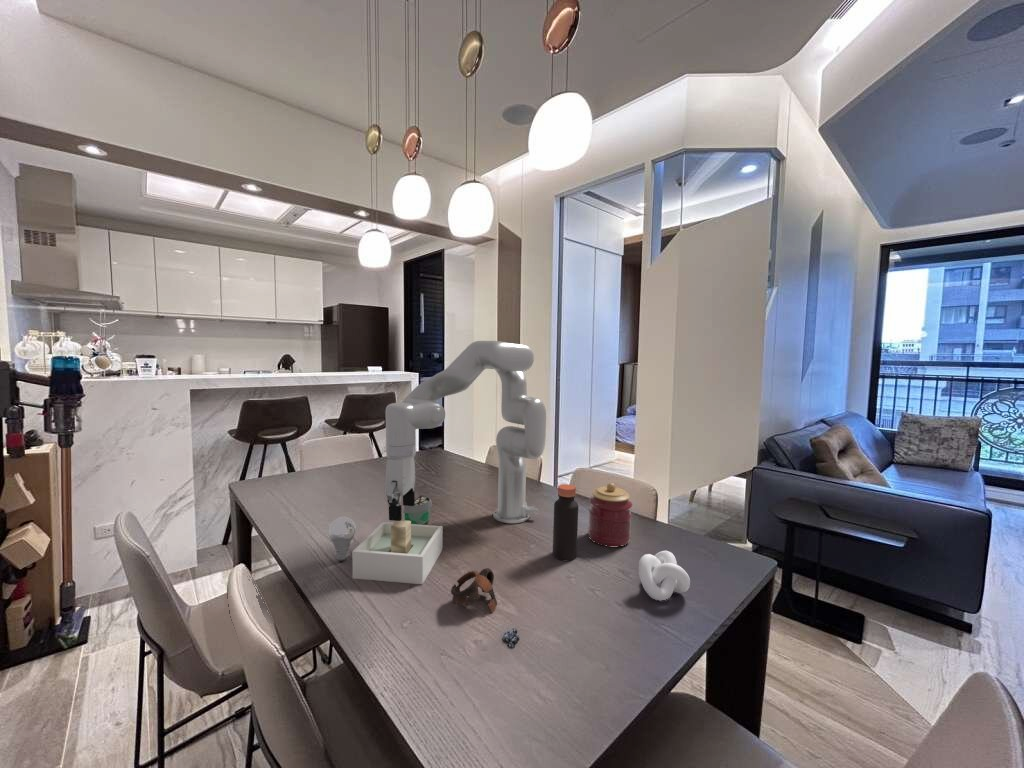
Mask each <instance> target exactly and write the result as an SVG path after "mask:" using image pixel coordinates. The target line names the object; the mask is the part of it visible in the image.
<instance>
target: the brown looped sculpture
mask: <svg viewBox="0 0 1024 768" xmlns="http://www.w3.org/2000/svg"><path fill="white" fill-rule="evenodd" d="M473 578H474V580H473V581H472V583H471V584H470V585H468V586H467V587H466V588H465V589H463V590H461V587H462V586H463V585H464V584H465V583H466V582H467V581H469V580H471V579H473ZM494 578H495V575H494V572H493V570H492V569H491V568H489V567H486V568H482V569H481V570H480V572H478V571H477V570H471V571H468V572H467V573H464V574H463V575H462V576H460V577H459V578H457V580H456V582H457V584H453V585H452V587H451V589H450V593H451V595H452V603H453V604H455V605H463V607H464V608H465V607H467V600H468V598H469V599H472V600H473V599H474V600H479V599H481V596H480V594H479V588H480V589H481V592H482V593H486V594H489V596H490V601H489V602H488V604H487V608H488V610H489V612H490V614H493V613H494V612H495V610H496V608H497V606H498V601H497V598H496V595H495V592H494V588H493V584H494Z"/></svg>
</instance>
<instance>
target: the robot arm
mask: <svg viewBox="0 0 1024 768" xmlns="http://www.w3.org/2000/svg"><path fill="white" fill-rule="evenodd" d="M534 355H535V354H534V351H533V349H531V347H530V346H529V345H526V344H520V343H512V342H506V341H500V340H476V341H473V342H471V343H470V344H468V345H467V346H466V348H465V349H464V350H463V351H462V352H460V353H459V355H458V356H457V357H456V358H455V359H454V360H453V361H452V362H451V363H450V364H449V365H448V366H447V367H446V368H445V369H443V370H441V371H440V372H438V373H435V375H432V376H431V377H430V378H428V379H426V380H424V381H423V382H421V383H419V384H418V385H417V386H416V387H414V388H413V389H412V390H411V392H409V394H408V395H407V396H406V397H405V398H404V399H403V400H402V402H392V403H389V404H387V406H386V407H385V444H386V445H385V447H386V449H385V450H386V458H387V459H386V460H387V461H386V467H385V484H384V485H385V486H384V487H385V491H384V494H385V495H386V498H387V501H386V502H387V506H388V521H394V522H395V521H401V520H403V511H402V505H403V507H404V506H414V505H415V500H416V499H415V498H416V497H415V496H416V495H415V489H416V487H415V483H416V468H415V467H416V466H415V456H416V455H417V448H416V447H417V443H416V441H417V439H416V436H417V435H416V430H418V429H421V430H423V429H425V430H426V429H428V430H429V429H435V428H438V427H439V426H441V424H443V423H444V421H445V419H446V411H445V408H444V407H443V405H442V404H441V403H439V402H437V401H438V400H440V399H442V398H445V397H449V396H451V395H455V394H459V393H461V392H464V391H466V390H467V389H469V387H470V386H471V385H472V384H473V383H474V381H476V380H477V378H478V377H479V376H480V375H481V374H482V372H484V371H485V370H487V369H488V370H495V371H496V373H497V374H498V376H499V379H500V383H501V404H500V405H501V407H500V409H501V417H502V419H503V420H504V421H506V422H509V423H512V424H514V425H515V424H516V425H521V426H523V427H524V428H523V427H518V426H512V425H508V426H505V427H502V428H501V429H500V430H499V431H497V434H496V436H495V437H496V439H495V443H496V451H497V456H498V457H497V458H498V482H497V483H498V484H497V508H496V509H495V510H494V511H493V513H492V515H493V516H492V517H493V519H494V520H496V521H498V522H500V523H505V524H519V523H524V522H526V521H528V520H529V518H530V515H531V514H532V515H539V509H538V508H536V506H529V505H527V501H526V491H527V490H526V488H527V487H526V485H527V481H526V480H527V464H526V460H525V459H528V460H537V459H539V458H541V456H542V455H543V454H544V451H545V447H546V435H547V434H546V433H547V432H546V431H547V429H546V428H547V409H546V406H545V404H544V403H543V401H542V400H541V399H540V398H537V397H532V396H528V390H527V389H528V388H527V386H528V385H527V384H528V383H527V377H526V375H525V373H524V372H526V371H528V370H530V369H531V368H532V366H533V365H534V362H535V361H534V360H535V356H534ZM396 498H397V499H396ZM401 501H402V504H401Z"/></svg>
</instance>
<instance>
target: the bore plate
mask: <svg viewBox="0 0 1024 768" xmlns="http://www.w3.org/2000/svg"><path fill="white" fill-rule="evenodd" d="M431 538H432V537H421V536H411V549H410V551H409V552H408V554H418V555H420V554H421V552H422V551H423V549H424V548H425V546H426V545H427V543H428V542H429V541H430V539H431ZM369 551H379V552H391V534H384V535H383V536H382V537H381V538H380V539H379V540H378V541H377V542H376V543H375V544H374V545H373V546H372V547H371V548H370V549H369Z"/></svg>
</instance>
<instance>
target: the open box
mask: <svg viewBox="0 0 1024 768" xmlns="http://www.w3.org/2000/svg"><path fill="white" fill-rule="evenodd" d="M393 523H394V522H386V521H385V522H384V521H382V522H381V523H380V524H379V525H378V526H377V527H375V529H374V530H373V531H372V532H371V533H369V535H367V537H365V539H363V540H362V541H361V542H360V543H359V544H358V545H357V546H356V547H355V548H354V549H353V550H352V558H351V559H352V579H353V580H355V579H356V580H367V581H378V582H379V581H381V582H391V583H400V584H401V583H403V584H412V585H413V584H415V585H423V584H424V582H425V581H426V579H427V577H428V576H429V574H430V573H431V570H432V569H433V567H434V565H435V563H436V561H437V560H438V558H439V556H440V554H441V553H442V551H443V544H444V543H443V537H444V535H443V533H444V532H443V529H444V528H443V525H431V524H428V525H418V524H411V536H421V537H432V538H431V539H430V541H429V542H428V543H427V545H426V546H425V548H424V549H423V551H422V552H421V554H420V555H418V554H405V553H392V552H379V551H369V549H370V548H371V547H372V546H373V545H374V544H375V543H376V542H377V541H378V540H379V539H380V538H381V537H382V536H383V535H384V534H391V525H392V524H393Z"/></svg>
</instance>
